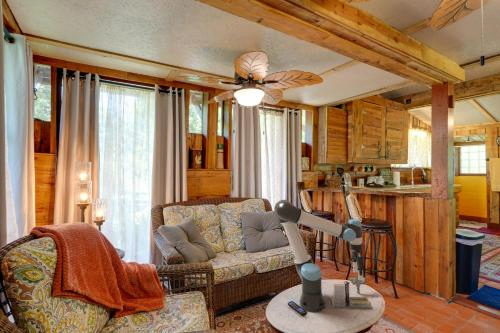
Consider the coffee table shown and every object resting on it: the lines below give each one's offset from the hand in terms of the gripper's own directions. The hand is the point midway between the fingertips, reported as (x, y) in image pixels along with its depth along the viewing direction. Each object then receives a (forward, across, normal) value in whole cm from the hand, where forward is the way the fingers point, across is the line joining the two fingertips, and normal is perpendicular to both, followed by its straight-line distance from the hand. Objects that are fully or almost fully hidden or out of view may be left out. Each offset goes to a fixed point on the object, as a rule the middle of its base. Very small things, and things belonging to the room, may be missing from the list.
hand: (358, 275), depth 177 cm
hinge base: (+11, -14, +9) cm, 20 cm away
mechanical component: (+12, 0, +1) cm, 12 cm away
